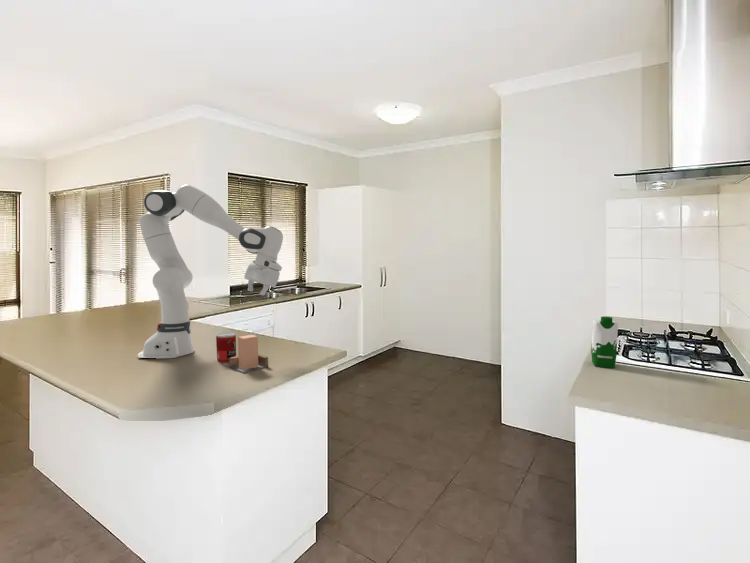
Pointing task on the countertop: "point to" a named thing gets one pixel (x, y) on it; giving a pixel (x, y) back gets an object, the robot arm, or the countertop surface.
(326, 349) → the countertop surface
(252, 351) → the terracotta block
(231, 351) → the canned food
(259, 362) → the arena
